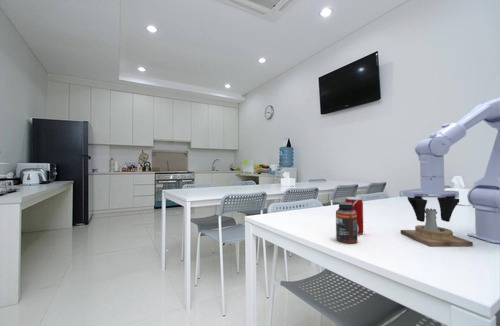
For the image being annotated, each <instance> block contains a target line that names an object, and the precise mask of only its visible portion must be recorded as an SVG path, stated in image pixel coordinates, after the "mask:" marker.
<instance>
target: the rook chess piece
mask: <svg viewBox="0 0 500 326" xmlns="http://www.w3.org/2000/svg"><path fill="white" fill-rule="evenodd" d="M436 215H438V211H437V209H435V208H430V207H429V208H428V207H426V208H425V222H424V223H425V224H424V225H425V226H424V228H423V229H426V230H430V231H438V232H440V230H439V229H438V227H439V226H438V224H437V218H438V217H437V216H436Z"/></svg>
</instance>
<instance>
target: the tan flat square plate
mask: <svg viewBox="0 0 500 326" xmlns="http://www.w3.org/2000/svg"><path fill="white" fill-rule="evenodd" d="M424 226H425V224H423V225H415V228H414V229H400V235H403V236H405V237H408V238H410V239H411V240H414V241H416V242H419V243H421V244H422V245H423V244H424V245H426V246H428V247H473V241H471V240H468V239H464V238H461V237H459V236H456V235H454V234H453V233H454V232H453V231H452V230H451V229H449V228H445V227H443V226H442V227H440V226H437V227H438V229H439V230H440V232H438V231H430V230H426V229H423V228H424Z"/></svg>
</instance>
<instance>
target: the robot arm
mask: <svg viewBox="0 0 500 326" xmlns="http://www.w3.org/2000/svg"><path fill="white" fill-rule="evenodd" d="M482 121H484V122H485V123H486V124H487V125H488V126H490V127H491V128H493V129H496V130H497V134H496V137H495V139H494V142H493V145H492V149H491V153H490V155H489V159H488V162H487V165H486V168H485V172H484V175H483V177H481V178H480V179H478V180H476V181H475V182H473V186H472V187H471V189H469V190H468V191H467V195H466V198H467V201H468V203H469V204H470V205H472V208H473V209H474V218H475V219H474V222H475V223H474V224H475V225H474V227H475V233H467V236H470V237H472V238H476V239H479V240H482V241H485V242H489V243H492V244H500V97H498V98H495V99H491V100H485V101H482V102H480V103H479V104H478V105H475V106H474V108H473V109H472V110H470V111H469V112H468V113H466V114H465V115H464V116H463V117H461V118H460V119H459V120H458V121H457V122H449V123H444V124H442V125H441V126H440V127H441V128H440V129H438V131H436V132H433V133H429V134H430V135H429V136H428V138H424V139H421V140H420V141H419V142H418V143H417V145H416V147H414V152H415V153H416V155H417V156H418V161H419V168H420V169H419V171H420V172H419V173H420V177H419V178H420V189H418V190H407V191H406V197H407V201H408V202H409V204H410V206H411V208H412V209H413V211H414V214H415V217H416V221H419V222H421V223H422V222H423V223H425V221H426V217H425V216H426V213H425V210H426V208H427V202H428V200H427V199H424V198H437V199H436V200H437V201H438V202H437V203H438V205H439V208H440V219H441V221H443V222H446V223H450V221H451V217H452V216H453V212H454V210H455V208H456V207H457V205H458V204H459V203H460V192H459V190H445V189H446V188H445V187H446V185H445V157H444V156H445V155H447V154H448V153H449V151H450V147H452V146H453V145H455V144H456V143H458V142H459V141H461V140H462V139H463V138H465V137H466V135H467V131H468V130H469V129H471V128H472V127H474V126H476V125H477V124H479V123H481V122H482Z"/></svg>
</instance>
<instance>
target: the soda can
mask: <svg viewBox="0 0 500 326" xmlns="http://www.w3.org/2000/svg"><path fill="white" fill-rule="evenodd" d="M344 202H347V203H352V204H353V210H354V211H356V213H357V236H360V235H362V234H364V202H363V199H362V197H353V196H351V197H350V196H349V197H345V201H344Z"/></svg>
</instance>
